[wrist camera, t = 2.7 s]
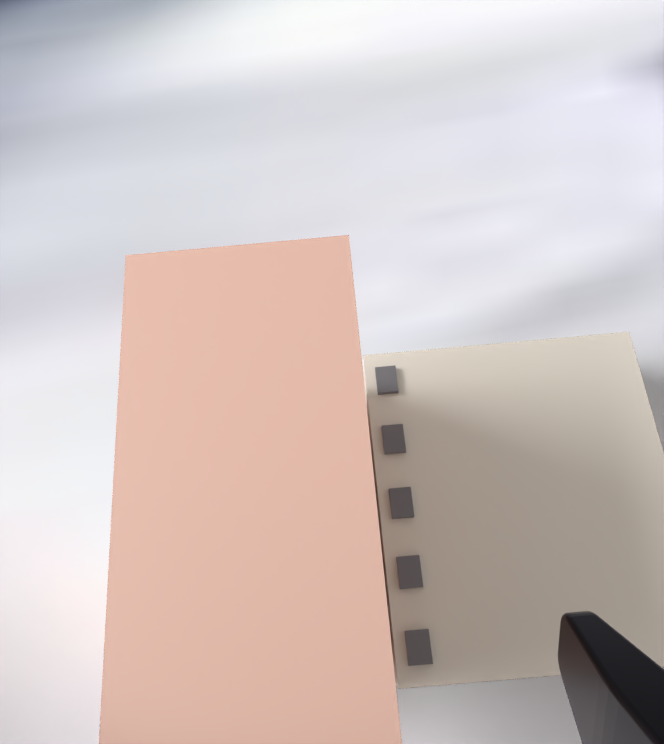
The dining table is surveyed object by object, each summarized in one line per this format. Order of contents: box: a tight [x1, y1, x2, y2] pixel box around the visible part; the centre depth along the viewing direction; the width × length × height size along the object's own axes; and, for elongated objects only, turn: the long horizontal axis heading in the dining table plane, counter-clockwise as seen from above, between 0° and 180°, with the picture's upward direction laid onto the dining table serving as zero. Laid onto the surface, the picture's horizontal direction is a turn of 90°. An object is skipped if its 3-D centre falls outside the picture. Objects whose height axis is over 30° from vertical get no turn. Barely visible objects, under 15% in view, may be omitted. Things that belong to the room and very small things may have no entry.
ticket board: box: [363, 332, 664, 689], centre depth 18 cm, size 9×8×3 cm
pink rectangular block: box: [99, 235, 402, 744], centre depth 14 cm, size 8×4×10 cm, turn 5°
